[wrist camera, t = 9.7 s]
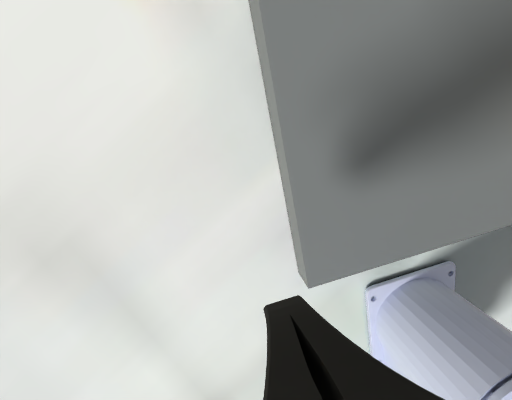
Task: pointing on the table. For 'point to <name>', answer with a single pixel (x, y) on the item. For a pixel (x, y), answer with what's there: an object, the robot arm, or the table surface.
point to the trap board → (387, 125)
